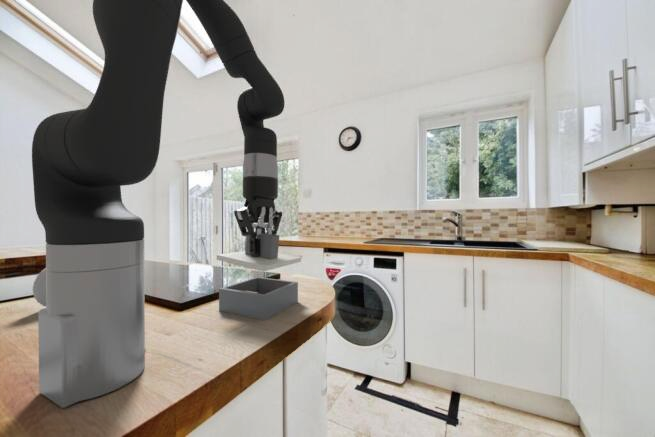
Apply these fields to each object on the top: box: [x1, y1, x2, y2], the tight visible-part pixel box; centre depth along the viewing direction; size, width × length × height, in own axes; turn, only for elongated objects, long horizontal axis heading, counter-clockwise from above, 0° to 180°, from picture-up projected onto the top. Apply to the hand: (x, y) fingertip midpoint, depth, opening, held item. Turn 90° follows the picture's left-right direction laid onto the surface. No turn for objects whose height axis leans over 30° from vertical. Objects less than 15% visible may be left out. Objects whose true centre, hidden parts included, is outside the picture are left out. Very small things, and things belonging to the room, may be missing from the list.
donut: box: [32, 267, 46, 307], centre depth 60 cm, size 10×4×10 cm, turn 179°
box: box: [218, 276, 299, 321], centre depth 59 cm, size 12×12×5 cm
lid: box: [215, 230, 302, 272], centre depth 58 cm, size 13×13×7 cm
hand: (260, 255), depth 59 cm, fingers closed on lid, 2 cm apart
